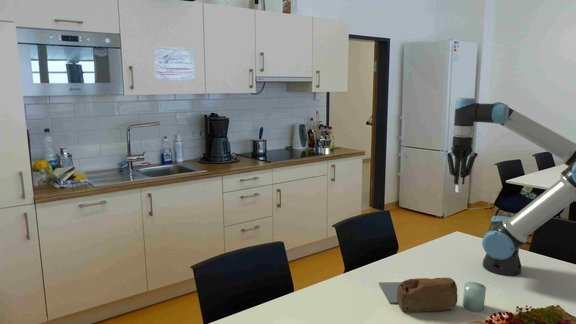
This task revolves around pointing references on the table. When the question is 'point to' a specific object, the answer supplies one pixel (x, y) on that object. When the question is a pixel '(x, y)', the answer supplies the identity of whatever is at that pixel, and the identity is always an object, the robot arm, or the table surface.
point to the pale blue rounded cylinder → (474, 296)
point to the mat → (390, 291)
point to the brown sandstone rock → (427, 294)
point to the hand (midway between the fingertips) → (458, 191)
